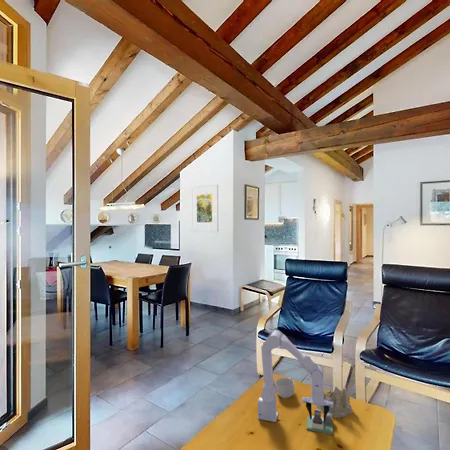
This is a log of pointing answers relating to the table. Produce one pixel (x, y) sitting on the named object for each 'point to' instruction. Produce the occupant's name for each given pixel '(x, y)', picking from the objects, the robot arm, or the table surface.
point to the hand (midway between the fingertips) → (317, 419)
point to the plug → (317, 416)
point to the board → (324, 426)
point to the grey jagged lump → (338, 403)
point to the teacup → (285, 387)
